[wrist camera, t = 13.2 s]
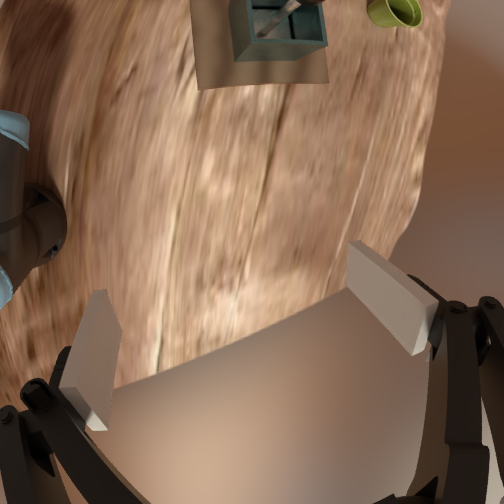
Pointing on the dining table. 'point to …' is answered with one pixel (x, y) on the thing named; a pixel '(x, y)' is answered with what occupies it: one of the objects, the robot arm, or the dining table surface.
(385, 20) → the plant pot
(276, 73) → the base plate
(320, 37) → the box
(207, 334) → the dining table surface
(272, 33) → the plunger
